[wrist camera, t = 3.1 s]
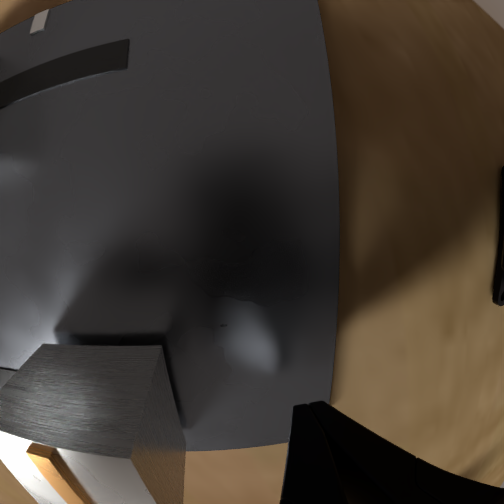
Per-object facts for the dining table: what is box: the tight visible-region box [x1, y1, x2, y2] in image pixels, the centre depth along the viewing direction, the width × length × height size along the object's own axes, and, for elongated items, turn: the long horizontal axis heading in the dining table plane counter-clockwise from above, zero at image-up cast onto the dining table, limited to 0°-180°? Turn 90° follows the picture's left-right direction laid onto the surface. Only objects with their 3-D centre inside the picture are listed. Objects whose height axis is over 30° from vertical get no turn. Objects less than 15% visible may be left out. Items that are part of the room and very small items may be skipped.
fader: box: [0, 343, 186, 504], centre depth 6 cm, size 4×4×4 cm
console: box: [0, 0, 340, 451], centre depth 7 cm, size 19×16×1 cm
